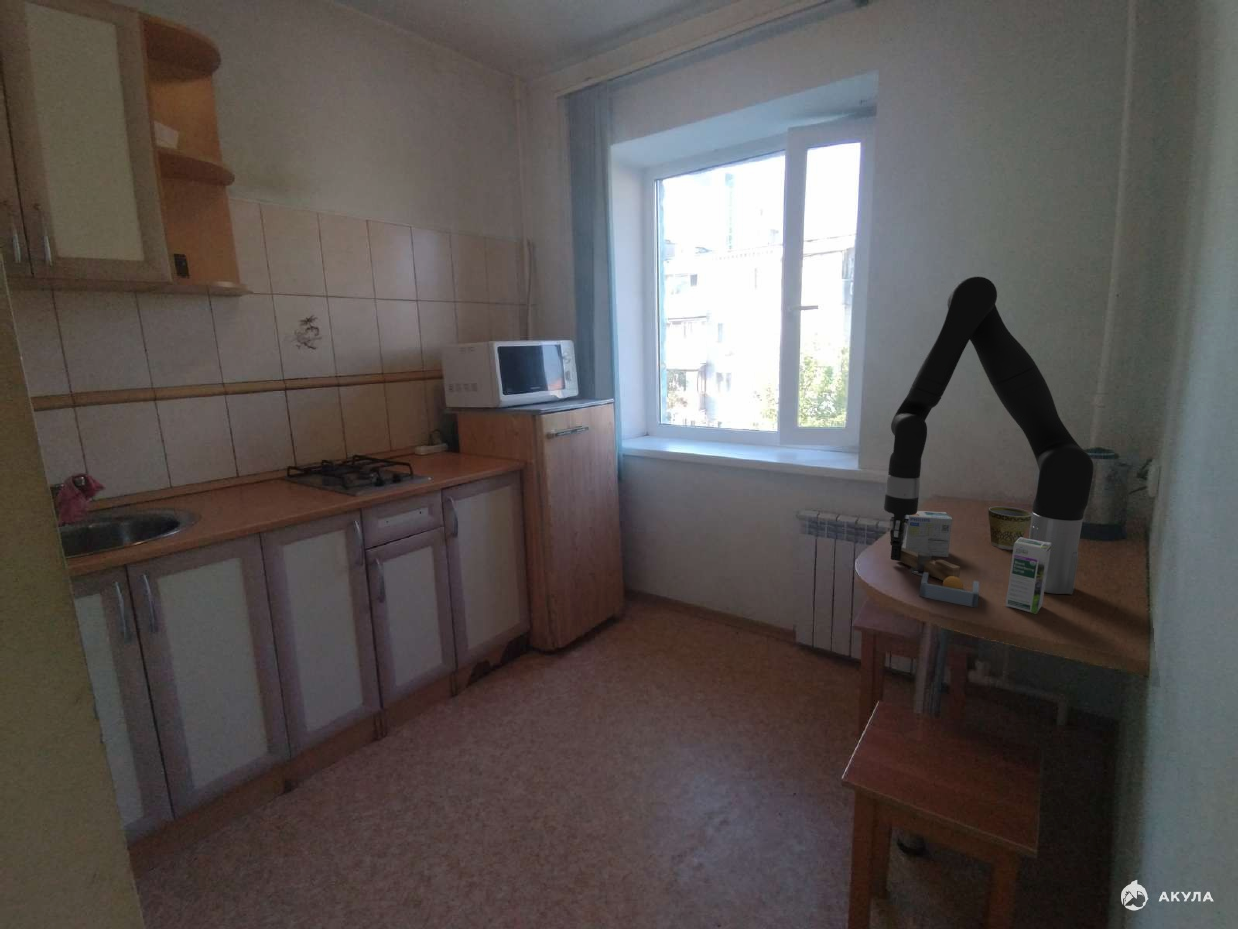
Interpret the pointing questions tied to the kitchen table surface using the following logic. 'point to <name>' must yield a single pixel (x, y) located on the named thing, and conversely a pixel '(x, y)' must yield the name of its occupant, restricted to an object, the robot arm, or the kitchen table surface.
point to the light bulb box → (928, 533)
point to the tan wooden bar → (929, 564)
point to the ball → (953, 582)
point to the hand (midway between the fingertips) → (895, 559)
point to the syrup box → (1028, 574)
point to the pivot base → (918, 572)
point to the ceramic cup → (1007, 525)
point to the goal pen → (949, 593)
